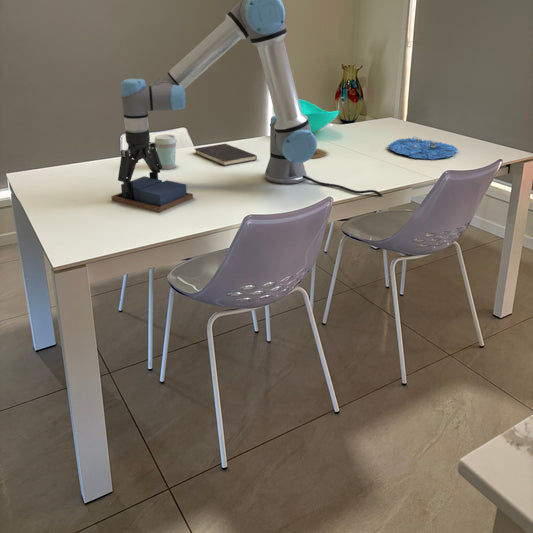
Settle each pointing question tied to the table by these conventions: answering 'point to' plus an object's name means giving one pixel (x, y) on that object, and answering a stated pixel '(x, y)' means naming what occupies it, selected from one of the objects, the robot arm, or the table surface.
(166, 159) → the coffee cup
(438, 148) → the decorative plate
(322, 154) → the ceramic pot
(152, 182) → the pad
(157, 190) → the pad
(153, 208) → the brown tray
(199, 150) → the hardcover book
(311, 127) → the table top decor
